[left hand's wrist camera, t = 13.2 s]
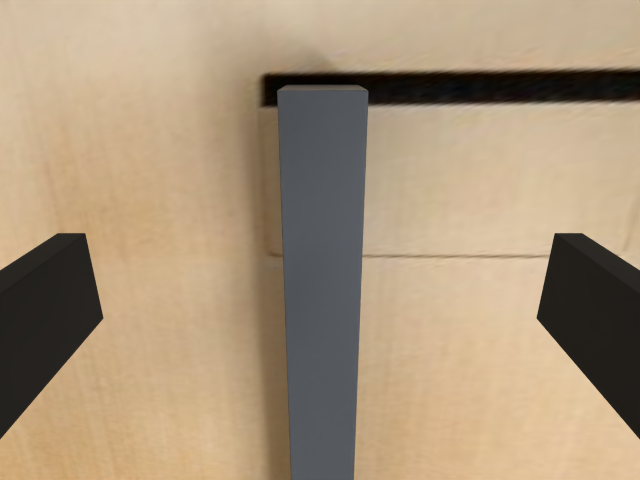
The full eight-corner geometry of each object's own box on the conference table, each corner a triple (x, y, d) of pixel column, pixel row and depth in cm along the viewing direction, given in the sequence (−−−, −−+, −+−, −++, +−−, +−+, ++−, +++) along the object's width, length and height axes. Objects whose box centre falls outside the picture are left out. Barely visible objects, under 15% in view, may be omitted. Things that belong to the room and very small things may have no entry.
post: (286, 84, 34) (277, 90, 27) (358, 84, 34) (368, 90, 27) (299, 551, 55) (296, 626, 47) (344, 551, 55) (348, 626, 47)
